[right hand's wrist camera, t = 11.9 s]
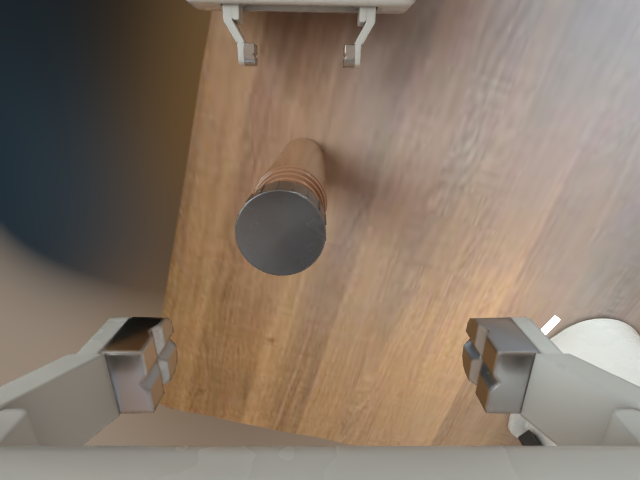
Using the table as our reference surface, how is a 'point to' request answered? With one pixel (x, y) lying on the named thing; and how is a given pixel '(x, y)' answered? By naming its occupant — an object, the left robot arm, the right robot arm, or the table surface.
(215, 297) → the table surface
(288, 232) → the cap
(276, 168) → the bottle
